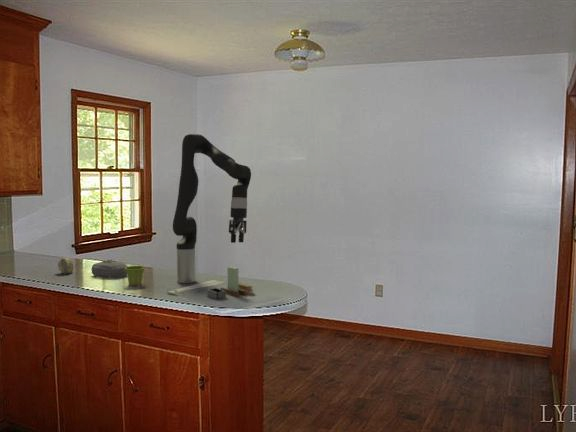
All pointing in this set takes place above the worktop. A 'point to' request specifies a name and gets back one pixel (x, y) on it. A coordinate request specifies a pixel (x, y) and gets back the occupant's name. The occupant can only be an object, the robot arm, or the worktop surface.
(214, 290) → the grey holder
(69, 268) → the garlic bulb
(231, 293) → the walnut rack
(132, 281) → the plant pot
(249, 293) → the pine offcut low
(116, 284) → the worktop surface
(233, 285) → the green board
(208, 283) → the baseboard molding
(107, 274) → the small grey backpack
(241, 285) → the pine offcut top
